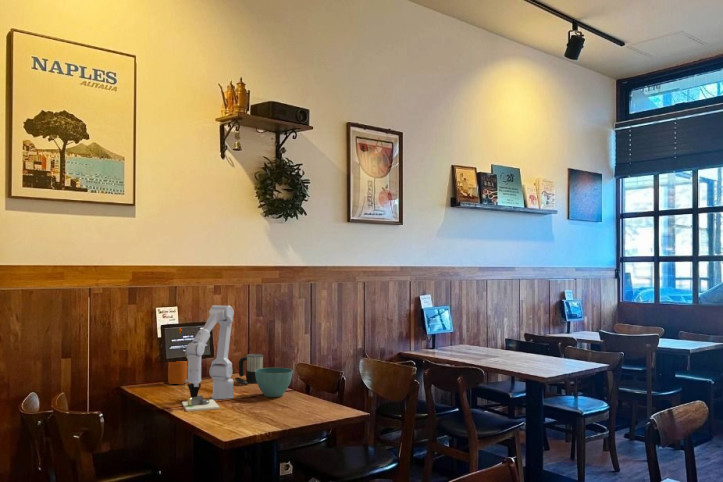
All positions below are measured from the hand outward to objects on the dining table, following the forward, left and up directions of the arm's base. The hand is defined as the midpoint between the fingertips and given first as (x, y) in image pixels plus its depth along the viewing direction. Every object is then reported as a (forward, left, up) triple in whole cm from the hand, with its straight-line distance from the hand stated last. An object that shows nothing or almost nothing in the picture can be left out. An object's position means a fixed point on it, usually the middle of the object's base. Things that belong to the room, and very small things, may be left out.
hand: (193, 400), depth 268 cm
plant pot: (-39, -10, -3) cm, 41 cm away
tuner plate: (-3, 0, -3) cm, 4 cm away
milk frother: (-36, -47, -3) cm, 59 cm away
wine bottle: (+1, -59, -3) cm, 59 cm away
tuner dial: (-2, +1, -1) cm, 3 cm away
